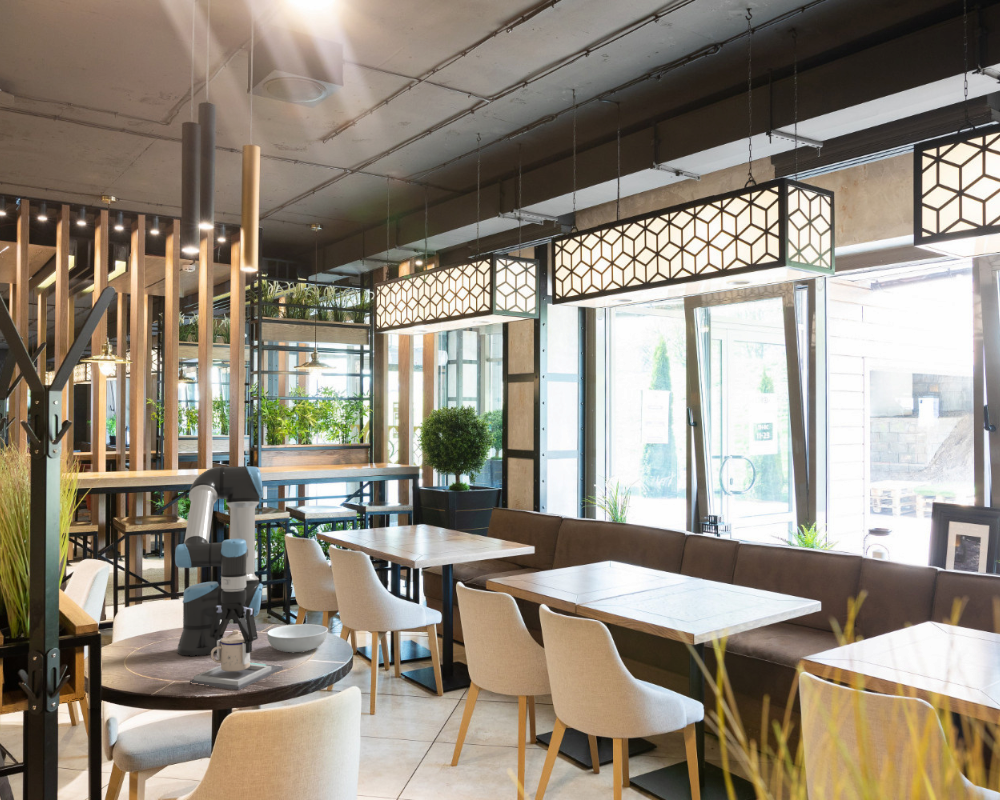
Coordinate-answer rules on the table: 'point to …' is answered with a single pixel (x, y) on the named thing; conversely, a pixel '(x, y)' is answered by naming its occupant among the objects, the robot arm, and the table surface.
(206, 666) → the table surface
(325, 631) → the serving bowl
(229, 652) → the teacup with lid
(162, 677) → the table surface
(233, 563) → the robot arm
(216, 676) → the base
